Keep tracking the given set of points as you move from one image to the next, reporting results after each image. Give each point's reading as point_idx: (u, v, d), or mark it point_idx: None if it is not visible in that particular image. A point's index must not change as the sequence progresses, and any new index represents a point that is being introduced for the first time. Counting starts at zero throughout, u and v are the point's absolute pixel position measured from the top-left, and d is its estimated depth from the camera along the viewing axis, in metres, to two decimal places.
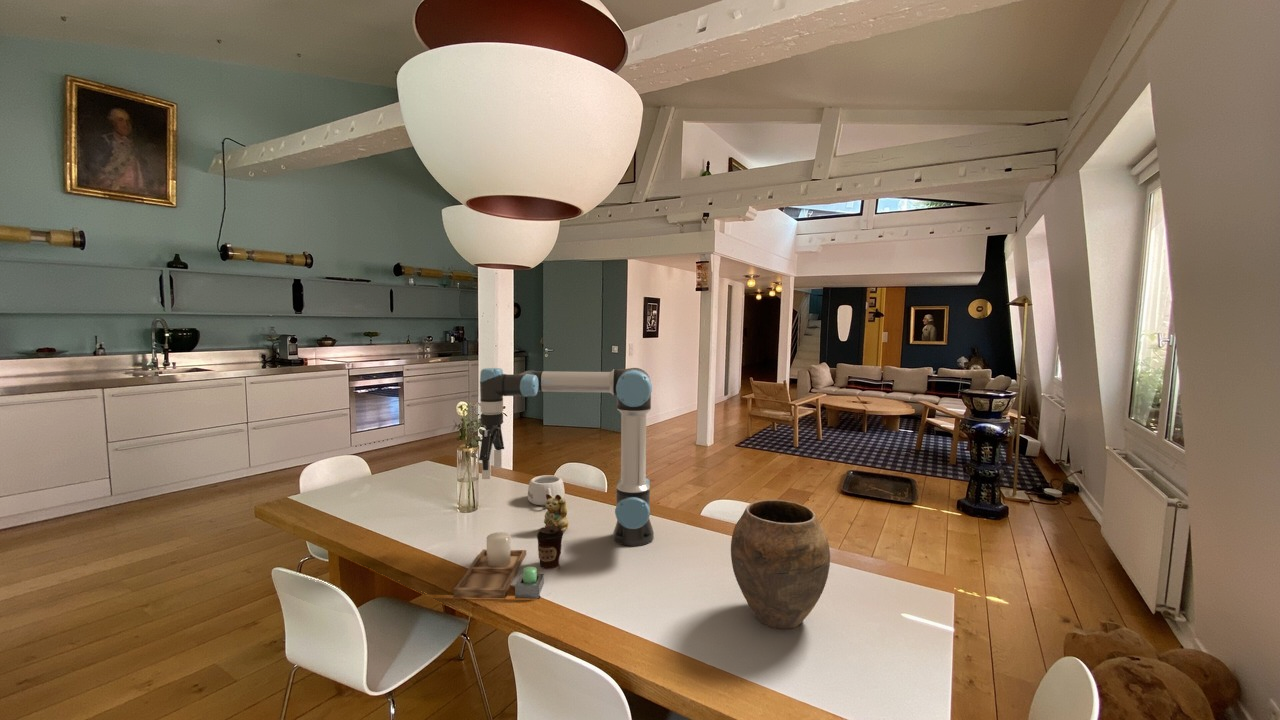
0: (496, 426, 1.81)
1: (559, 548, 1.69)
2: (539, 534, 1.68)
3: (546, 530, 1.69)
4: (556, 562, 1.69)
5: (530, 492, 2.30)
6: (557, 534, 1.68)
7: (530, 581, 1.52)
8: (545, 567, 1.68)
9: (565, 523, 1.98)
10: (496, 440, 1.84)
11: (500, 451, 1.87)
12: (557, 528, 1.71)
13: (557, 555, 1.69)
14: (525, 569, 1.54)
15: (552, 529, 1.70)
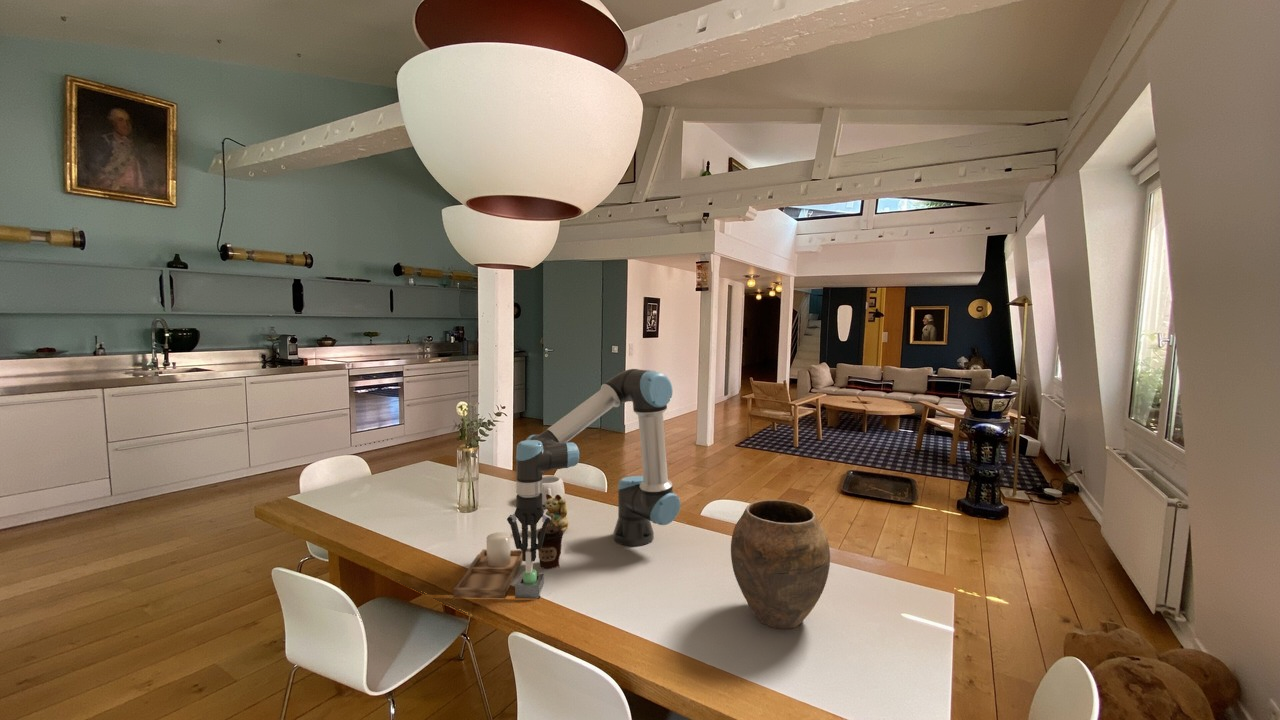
0: (536, 509, 1.52)
1: (559, 548, 1.69)
2: (539, 534, 1.68)
3: (546, 530, 1.69)
4: (556, 562, 1.69)
5: None
6: (557, 534, 1.68)
7: None
8: (545, 567, 1.68)
9: (565, 523, 1.98)
10: None
11: None
12: (557, 528, 1.71)
13: (557, 555, 1.69)
14: (525, 571, 1.54)
15: (552, 529, 1.70)
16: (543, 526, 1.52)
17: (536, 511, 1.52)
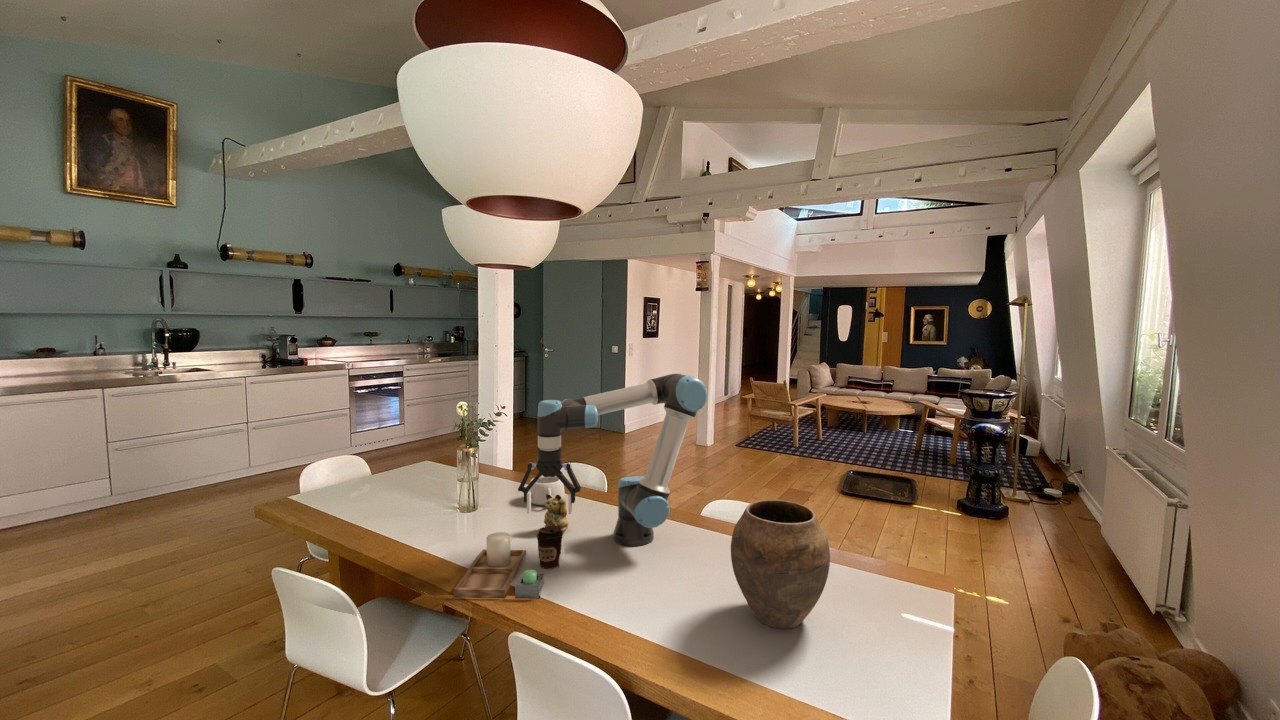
0: (554, 464, 1.67)
1: (559, 548, 1.69)
2: (539, 534, 1.68)
3: (546, 530, 1.69)
4: (556, 562, 1.69)
5: None
6: (557, 534, 1.68)
7: None
8: (545, 567, 1.68)
9: (565, 523, 1.98)
10: None
11: None
12: (557, 528, 1.71)
13: (557, 555, 1.69)
14: (525, 572, 1.54)
15: (552, 529, 1.70)
16: (568, 472, 1.67)
17: (555, 466, 1.67)
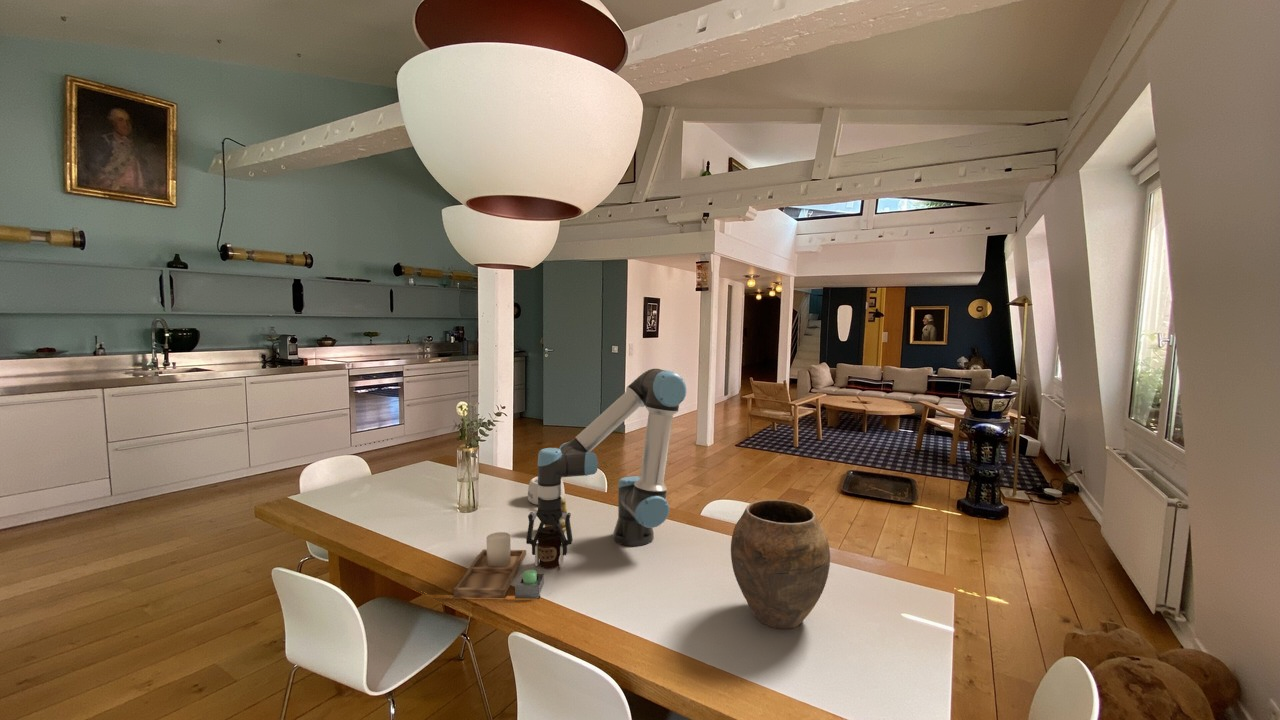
0: (554, 511, 1.68)
1: (559, 548, 1.69)
2: (539, 534, 1.68)
3: (546, 530, 1.69)
4: (556, 562, 1.69)
5: (530, 492, 2.30)
6: (557, 534, 1.68)
7: None
8: (545, 567, 1.68)
9: None
10: None
11: None
12: None
13: (557, 555, 1.69)
14: (525, 572, 1.54)
15: (552, 529, 1.70)
16: (566, 523, 1.68)
17: (555, 513, 1.68)
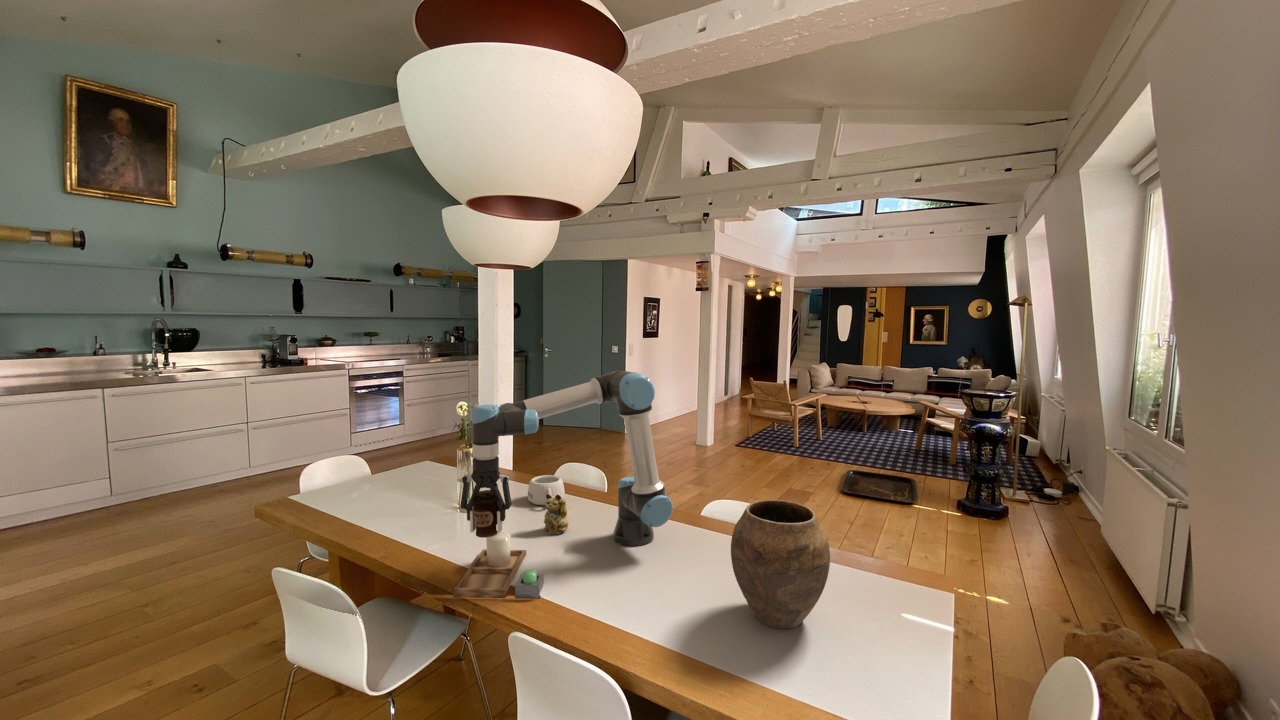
0: (491, 473, 1.55)
1: (496, 513, 1.56)
2: (474, 497, 1.55)
3: (482, 493, 1.56)
4: (493, 528, 1.56)
5: (530, 492, 2.30)
6: (494, 497, 1.55)
7: None
8: (480, 533, 1.54)
9: (565, 523, 1.98)
10: None
11: None
12: None
13: (494, 520, 1.56)
14: (525, 572, 1.54)
15: (489, 493, 1.57)
16: (503, 486, 1.55)
17: (491, 475, 1.55)
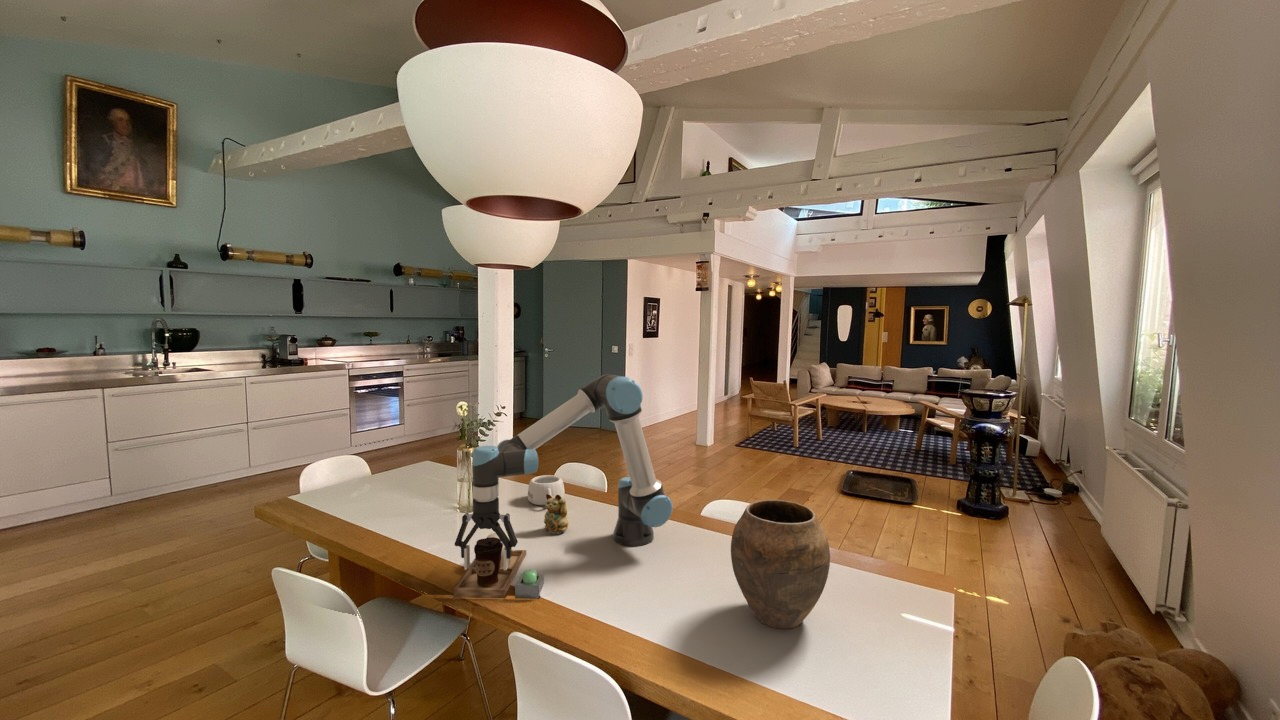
0: (490, 515, 1.56)
1: (498, 561, 1.57)
2: (476, 546, 1.55)
3: (484, 542, 1.57)
4: (494, 577, 1.57)
5: (530, 492, 2.30)
6: (495, 546, 1.56)
7: None
8: (482, 582, 1.55)
9: (565, 523, 1.98)
10: None
11: None
12: (496, 540, 1.59)
13: (495, 569, 1.57)
14: (525, 572, 1.54)
15: (491, 541, 1.58)
16: (505, 525, 1.56)
17: (491, 517, 1.56)
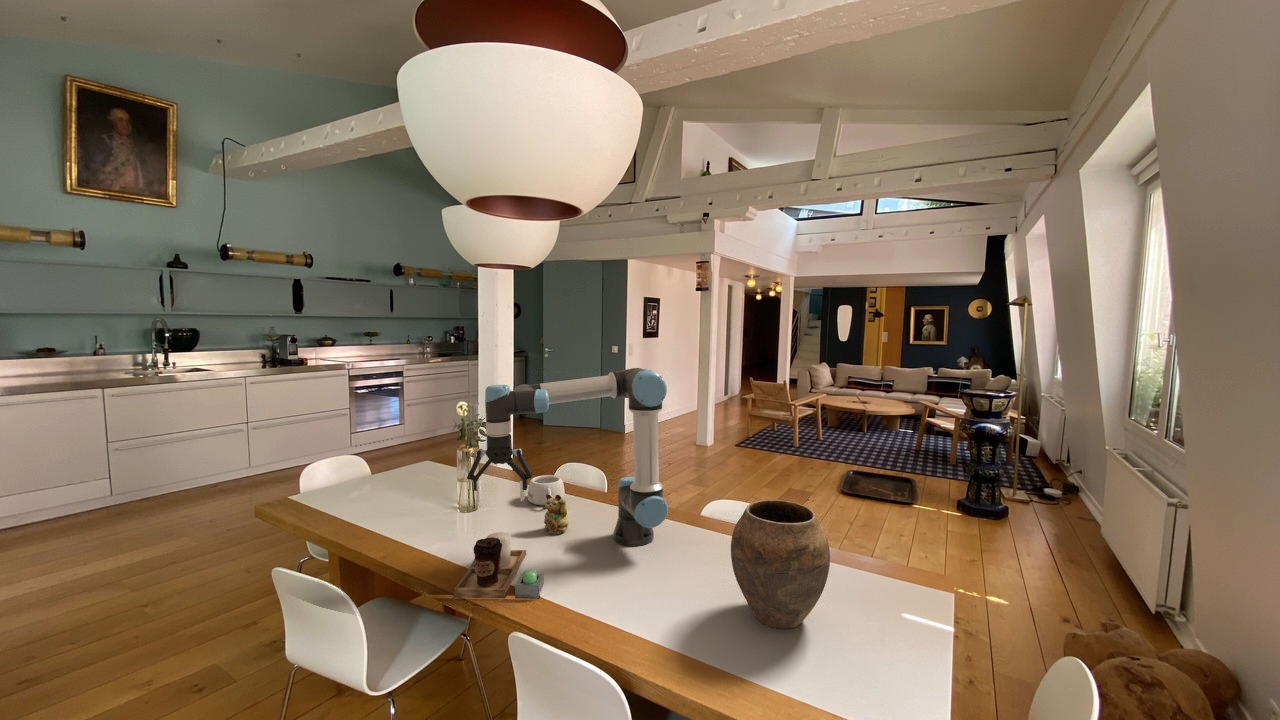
0: (503, 450, 1.62)
1: (497, 562, 1.57)
2: (475, 547, 1.55)
3: (483, 542, 1.57)
4: (494, 577, 1.57)
5: (530, 492, 2.30)
6: (495, 547, 1.55)
7: None
8: (482, 582, 1.55)
9: (565, 523, 1.98)
10: None
11: (520, 482, 1.63)
12: (496, 540, 1.59)
13: (495, 569, 1.56)
14: (525, 572, 1.54)
15: (490, 541, 1.58)
16: (519, 458, 1.62)
17: (505, 452, 1.62)
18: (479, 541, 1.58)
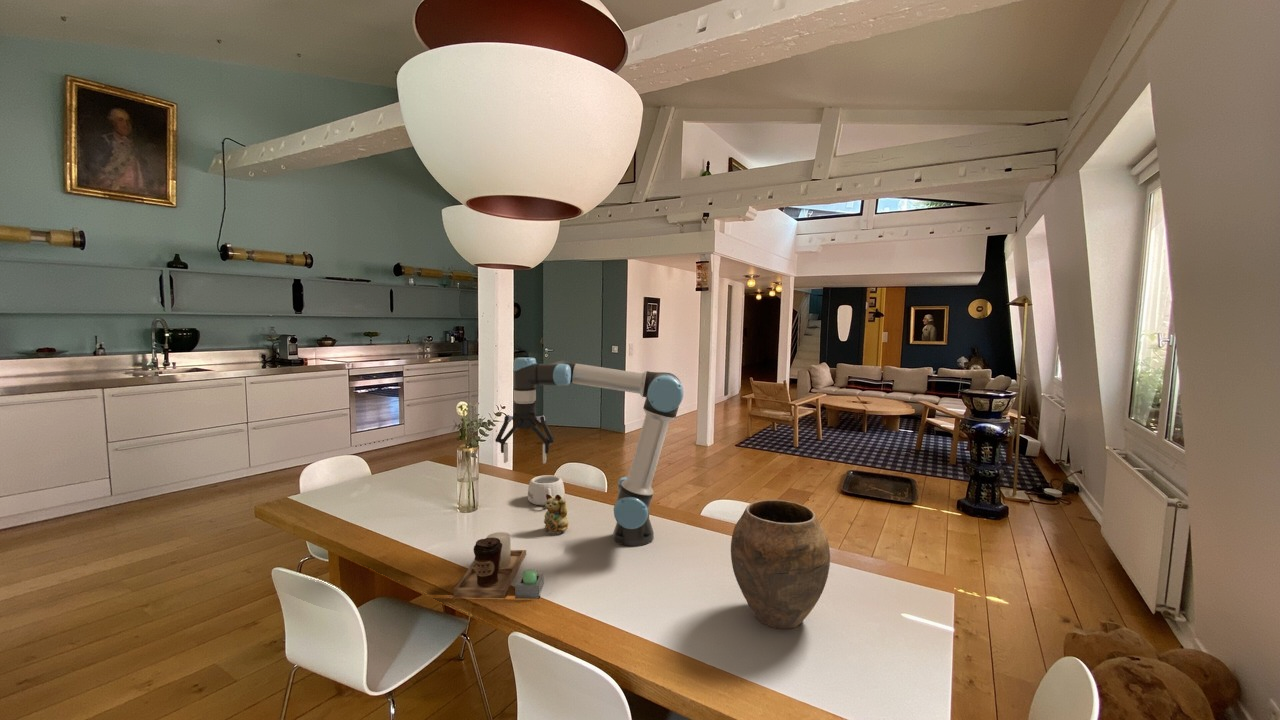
0: (528, 417, 1.79)
1: (497, 562, 1.57)
2: (475, 547, 1.55)
3: (483, 542, 1.57)
4: (494, 577, 1.57)
5: (530, 492, 2.30)
6: (495, 547, 1.55)
7: None
8: (482, 582, 1.55)
9: (565, 523, 1.98)
10: None
11: (543, 445, 1.80)
12: (496, 540, 1.59)
13: (495, 569, 1.56)
14: (525, 572, 1.54)
15: (490, 541, 1.58)
16: (542, 424, 1.79)
17: (530, 418, 1.79)
18: (479, 541, 1.58)
